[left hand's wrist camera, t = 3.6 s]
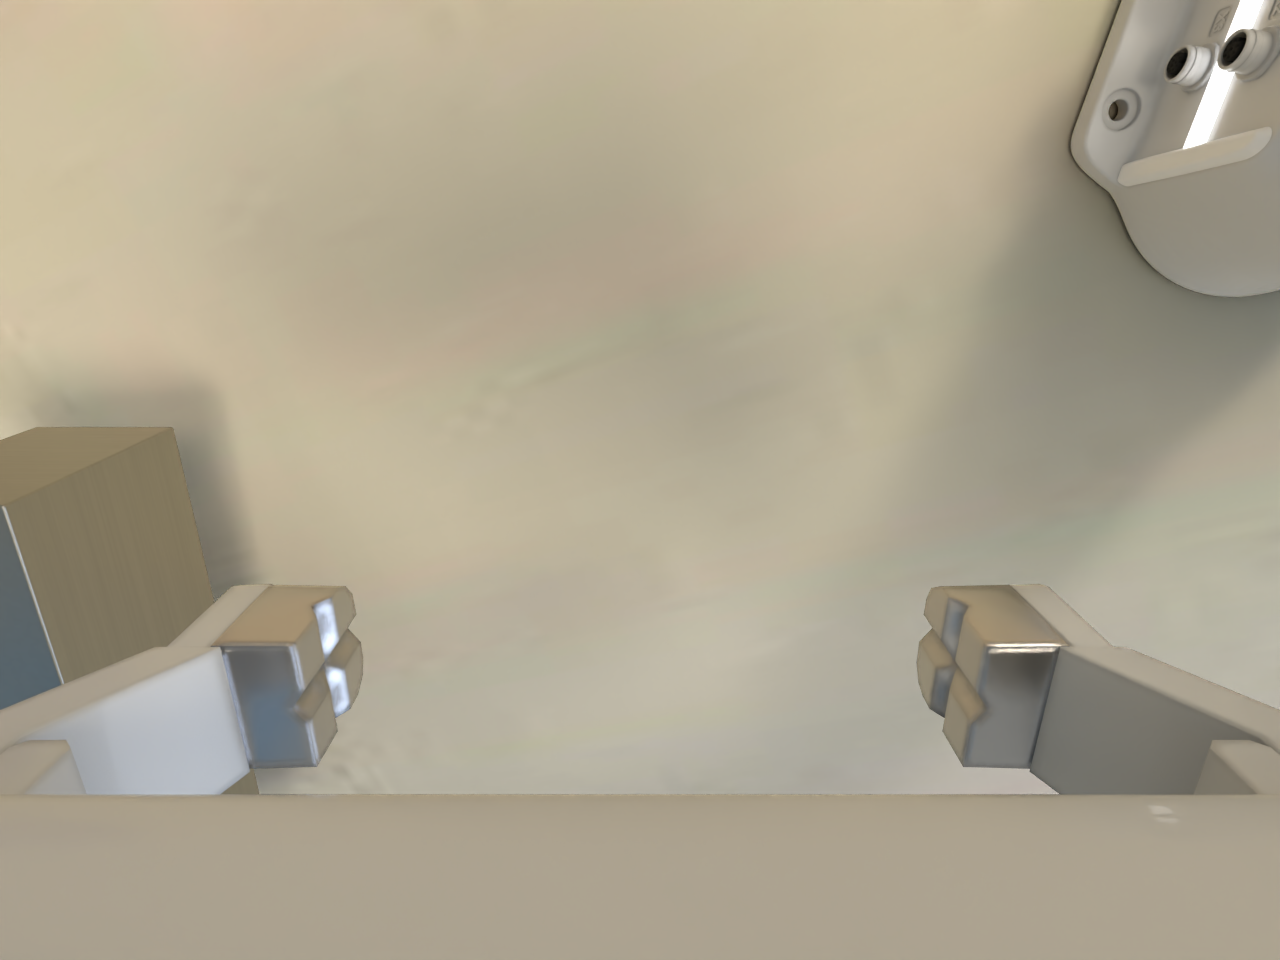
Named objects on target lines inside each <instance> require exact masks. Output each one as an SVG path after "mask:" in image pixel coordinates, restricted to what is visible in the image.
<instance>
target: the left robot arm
mask: <svg viewBox="0 0 1280 960" xmlns="http://www.w3.org/2000/svg"><path fill="white" fill-rule="evenodd" d="M1113 102H1115V103H1116V104H1117V106H1118V114H1117V116H1116V118H1115V119H1114V120H1111V119H1110V117H1109V114H1108V111H1109V107H1110V106H1111V104H1112V103H1113ZM1071 152H1072V155H1073V158H1074V159H1075V161H1076V163H1077V164H1078V165H1079V166H1080V168H1081V169H1082V170H1083V171H1084V172H1085V173H1086V174H1087V175H1088V176H1089V177H1091V178H1092V179H1093V180H1094V181H1095V182H1097V183H1098V184H1099V185H1100V186H1102V187H1103V188H1104V189H1105V190H1107V191H1108V192H1109V193H1110V194H1111V196H1112V198H1113V199H1114V201H1115V203H1116V205H1117V207H1118V209H1119V211H1120V214H1121V216H1122V219H1123V222H1124V224H1125V226H1126V229H1127V231H1128V233H1129V235H1130V237H1131V239H1132V241H1133V243H1134V244H1135V246H1136V248H1137V249H1138V251H1139V252H1140V253H1141V255H1142V256H1143V257H1144V258H1145V260H1146V261H1147V262H1148V263H1149V264H1150V265H1151V266H1152V267H1153V268H1154V269H1155V270H1157V271H1158V272H1159V273H1160V274H1161V275H1163V276H1164V277H1166V278H1167V279H1169V280H1170V281H1172V282H1174V283H1175V284H1178V285H1180V286H1182V287H1184V288H1186V289H1189V290H1192V291H1195V292H1198V293H1202V294H1207V295H1212V296H1221V297H1244V296H1253V295H1259V294H1265V293H1269V292H1273V291H1277V290H1280V0H1122V1H1121V3H1120V6H1119V9H1118V11H1117V14H1116V17H1115V19H1114V22H1113V25H1112V28H1111V30H1110V33H1109V36H1108V38H1107V41H1106V44H1105V47H1104V49H1103V52H1102V55H1101V57H1100V60H1099V63H1098V65H1097V68H1096V71H1095V74H1094V76H1093V79H1092V82H1091V84H1090V87H1089V90H1088V93H1087V95H1086V98H1085V101H1084V103H1083V106H1082V109H1081V111H1080V114H1079V117H1078V120H1077V122H1076V125H1075V128H1074V131H1073V134H1072V138H1071ZM355 616H356V610H355V605H354V600H353V595H352V593H351V592H350V591H349V589H348V588H347V587H346V586H309V585H272V584H257V585H237V586H232V587H231V588H230V589H228V590H227V591H226V592H225V593H224V594H223V595H222V596H221V597H220V598H219V599H218V600H217V601H216V602H214V603H213V604H212V605H211V606H210V607H209V608H208V609H207V610H206V611H205V612H204V613H203V614H202V615H200V616H199V617H198V618H197V619H196V620H195V621H194V622H193V623H192V624H191V625H190V626H189V627H188V628H186V629H185V630H184V631H183V632H182V633H181V634H180V635H179V636H178V637H177V638H176V639H175V640H174V641H172V642H171V643H170V644H169V645H168V646H167V647H153V648H151V649H148V650H146V651H143V652H141V653H139V654H136V655H134V656H131V657H129V658H126V659H124V660H121V661H119V662H116V663H114V664H112V665H109V666H107V667H104V668H102V669H99V670H97V671H94V672H92V673H90V674H87V675H85V676H82V677H80V678H77V679H75V680H72V681H70V682H68V683H65V684H63V685H60V686H58V687H55V688H53V689H50V690H48V691H46V692H43V693H41V694H38V695H36V696H33V697H31V698H28V699H26V700H24V701H21V702H19V703H16V704H14V705H11V706H9V707H6V708H4V709H2V710H0V960H1280V710H1278V709H1276V708H1273V707H1271V706H1268V705H1266V704H1263V703H1261V702H1259V701H1256V700H1254V699H1251V698H1249V697H1246V696H1244V695H1241V694H1239V693H1237V692H1234V691H1232V690H1229V689H1227V688H1224V687H1222V686H1219V685H1217V684H1215V683H1212V682H1210V681H1207V680H1205V679H1202V678H1200V677H1198V676H1195V675H1193V674H1190V673H1188V672H1185V671H1183V670H1180V669H1178V668H1176V667H1173V666H1171V665H1168V664H1166V663H1163V662H1161V661H1159V660H1156V659H1154V658H1151V657H1149V656H1146V655H1144V654H1141V653H1139V652H1137V651H1134V650H1132V649H1129V648H1127V647H1113V646H1112V645H1111V644H1110V643H1109V642H1108V641H1107V640H1105V639H1104V638H1103V637H1102V636H1101V635H1100V634H1099V633H1098V632H1097V631H1096V630H1095V629H1094V628H1093V627H1091V626H1090V625H1089V624H1088V623H1087V622H1086V621H1085V620H1084V619H1083V618H1082V617H1081V616H1080V615H1079V614H1078V613H1076V612H1075V611H1074V610H1073V609H1072V608H1071V607H1070V606H1069V605H1068V604H1067V603H1066V602H1065V601H1064V600H1062V599H1061V598H1060V597H1059V596H1058V595H1057V594H1056V593H1055V592H1054V591H1053V590H1052V589H1051V588H1050V587H1048V586H1044V585H1041V584H1027V585H980V586H940V587H934V588H931V590H930V592H929V594H928V596H927V599H926V604H925V610H924V616H925V617H926V619H927V620H928V622H929V623H930V625H931V627H932V629H931V630H930V631H929V632H928V633H927V634H926V635H925V636H924V638H923V639H922V640H921V641H920V642H919V648H918V656H917V672H918V682H919V686H920V689H921V692H922V695H923V697H924V699H925V701H926V703H927V705H928V707H929V708H930V709H931V710H933V711H934V712H936V713H937V714H939V715H941V716H942V717H944V718H945V719H944V725H943V733H944V735H945V736H946V738H947V740H948V742H949V743H950V745H951V747H952V748H953V750H954V752H955V754H956V755H957V757H958V759H959V760H960V762H961V764H962V766H963V767H989V768H1026V769H1030V772H1031V773H1032V774H1034V775H1035V776H1036V777H1038V778H1039V779H1040V780H1042V781H1043V782H1044V783H1046V784H1047V785H1048V786H1050V787H1051V788H1052V789H1054V790H1055V791H1056V792H1058V793H1059V794H221V793H222V792H224V791H225V790H226V789H228V788H229V787H230V786H232V785H233V784H234V783H236V782H237V781H239V780H240V779H241V778H243V777H244V776H245V775H247V774H248V773H249V772H250V769H254V768H289V767H317V766H318V764H319V762H320V761H321V759H322V757H323V755H324V754H325V752H326V750H327V748H328V747H329V745H330V743H331V742H332V740H333V738H334V736H335V735H336V733H337V725H336V719H335V718H336V717H338V716H339V715H341V714H343V713H344V712H346V711H347V710H349V709H350V708H351V707H352V705H353V703H354V701H355V699H356V697H357V695H358V692H359V688H360V684H361V680H362V675H363V654H362V647H361V642H360V641H359V640H358V639H357V638H356V636H355V635H354V634H353V633H352V632H351V631H350V630H349V629H348V627H349V625H350V623H351V622H352V620H353V619H354V617H355Z"/></svg>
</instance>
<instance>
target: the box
mask: <svg viewBox="0 0 1280 960" xmlns="http://www.w3.org/2000/svg"><path fill="white" fill-rule="evenodd" d="M213 603H214V599H213V595H212V591H211V587H210V582H209V578H208V574H207V570H206V565H205V561H204V557H203V553H202V548H201V544H200V540H199V536H198V531H197V527H196V523H195V519H194V514H193V510H192V506H191V502H190V497H189V493H188V489H187V485H186V480H185V476H184V472H183V468H182V464H181V459H180V455H179V451H178V447H177V442H176V438H175V434H174V430H173V428H171V427H36V428H33V429H30V430H27V431H25V432H22V433H19V434H16V435H14V436H11V437H8V438H5V439H2V440H0V710H2V709H4V708H6V707H9V706H11V705H14V704H16V703H19V702H21V701H24V700H26V699H28V698H31V697H33V696H36V695H38V694H41V693H43V692H46V691H48V690H50V689H53V688H55V687H58V686H60V685H63V684H65V683H68V682H70V681H72V680H75V679H77V678H80V677H82V676H85V675H87V674H90V673H92V672H94V671H97V670H99V669H102V668H104V667H107V666H109V665H112V664H114V663H116V662H119V661H121V660H124V659H126V658H129V657H131V656H134V655H136V654H139V653H141V652H143V651H146V650H148V649H151V648H153V647H167V646H168V645H169V644H170V643H171V642H172V641H174V640H175V639H176V638H177V637H178V636H179V635H180V634H181V633H182V632H183V631H184V630H185V629H186V628H188V627H189V626H190V625H191V624H192V623H193V622H194V621H195V620H196V619H197V618H198V617H199V616H200V615H202V614H203V613H204V612H205V611H206V610H207V609H208V608H209V607H210V606H211V605H212V604H213ZM221 794H259V790H258V786H257V782H256V778H255V773H254V769H250V772H249V773H248V774H247V775H245V776H244V777H243V778H241V779H240V780H239V781H237V782H236V783H234V784H233V785H232V786H230V787H229V788H228V789H226V790H225V791H224V792H222V793H221Z"/></svg>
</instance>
